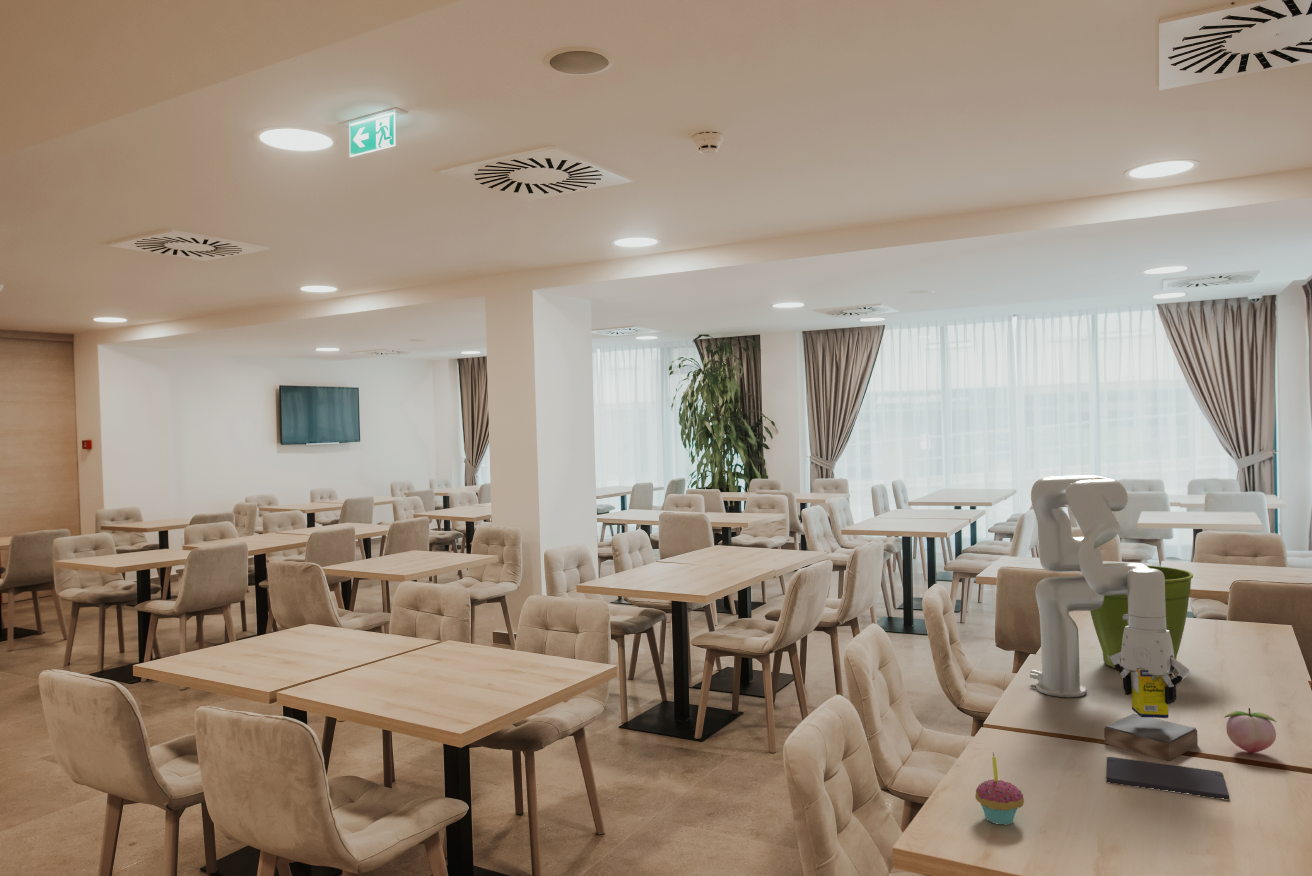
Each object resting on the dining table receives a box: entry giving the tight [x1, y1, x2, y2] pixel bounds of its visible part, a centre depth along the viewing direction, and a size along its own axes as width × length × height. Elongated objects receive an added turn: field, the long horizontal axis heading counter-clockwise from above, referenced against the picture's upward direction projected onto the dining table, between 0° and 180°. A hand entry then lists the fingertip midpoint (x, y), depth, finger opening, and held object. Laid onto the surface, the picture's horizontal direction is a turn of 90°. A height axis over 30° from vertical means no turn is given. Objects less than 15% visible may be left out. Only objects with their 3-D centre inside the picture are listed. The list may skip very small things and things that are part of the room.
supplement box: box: [1130, 668, 1169, 719], centre depth 197 cm, size 6×6×11 cm
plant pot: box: [1089, 565, 1194, 669], centre depth 259 cm, size 30×30×29 cm
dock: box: [1103, 713, 1199, 762], centre depth 197 cm, size 14×14×4 cm
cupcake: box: [974, 752, 1025, 825], centre depth 162 cm, size 9×8×12 cm
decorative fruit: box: [1224, 707, 1277, 754], centre depth 190 cm, size 9×8×10 cm
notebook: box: [1105, 756, 1230, 800], centre depth 177 cm, size 13×2×21 cm
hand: (1149, 698), depth 197 cm, fingers closed on supplement box, 8 cm apart
